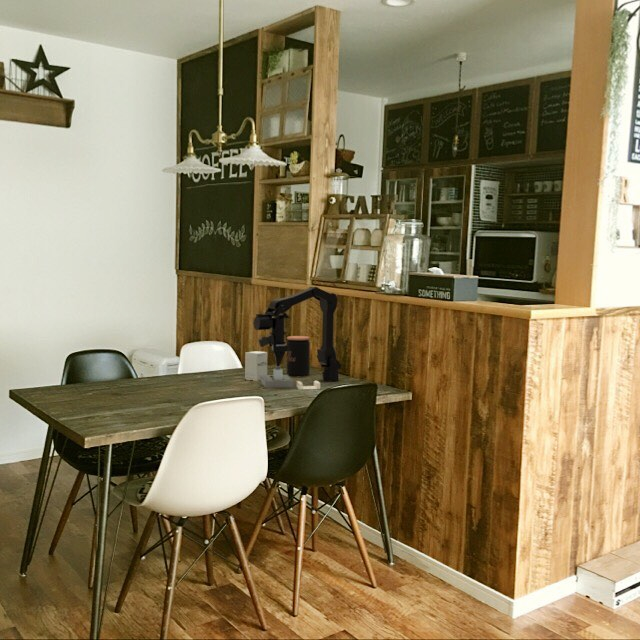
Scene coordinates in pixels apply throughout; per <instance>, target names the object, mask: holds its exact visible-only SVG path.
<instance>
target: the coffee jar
mask: <svg viewBox="0 0 640 640" xmlns="http://www.w3.org/2000/svg"><path fill="white" fill-rule="evenodd" d="M310 338H311V337H310V336H306V335H304V336H303V335H291V336H286V339H287V342H286V345H287V346H288V351H286V373H287V375H291V376H290V377H297V376H301V377H307V376H308V375H309V374H310V367H311V365H310V362H311V361H310V359H311V357H310V353H311V352H310V351H311V350H310V349H311V347H310V346H311V345H310V344H311V343H310Z"/></svg>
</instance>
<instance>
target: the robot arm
mask: <svg viewBox="0 0 640 640" xmlns="http://www.w3.org/2000/svg"><path fill="white" fill-rule="evenodd" d="M311 298H313V299H315V301H316V300H317V301H318V302H319V307H320V310H321V312H322V325H321V326H322V330H321V331H322V332H321V333H322V334H321V335H322V336H321V338H322V339H321V347H320V348H318V349H317V352H316V353H317V355H316V359H317V362H318V363H319V364H320V366H321V368H323V370H322V372H321V373H322V375H321V381H322V382H329V383H331V382H332V383H333V382H335V383H336V382H339V370H341V368H342V363H341V362H340V361H339V360H338V358H337V352H336V349H335V347H334V319H335V318H334V315H335V313H336V309H337V307H338V301H339V299H338V298H339V297H338V296H337V294H335V293H333V292H328V291H326V290H323V289H320V288H319V287H317V286H309V287H308V288H306V289H303V290H301V291H298V292H297V293H295V294H291V295H289V296H286V297H279V298H274V299H272V300H271V301H269V302H270V303H269V306H268V308H267V309H266V311H265V312H264V313H256V314H255V317H254V319H253V327H254V330H255V331H268V330H270V332H269V334H268V335H264V336H261V338H260V337H259V338H258V339H257V341H258V344H259V347H260V348H264V347H266V346H267V347H268V348H270V351H272V353H273V355H274V359H275V364H276V365H275V366H280V365H281V363H282V360H283V358H284V356H285V354H286V353H287V351H288V346H287V342H286V339H285V338H286V337H285V336H286V335H287V334H286V319H290V316H289V315H288V314H287V312H288V311H289V310H291V308H292V307H294V306H296V305H298V304H299V303H302V302H305V301H306V300H309V299H311Z"/></svg>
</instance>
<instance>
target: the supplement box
mask: <svg viewBox="0 0 640 640" xmlns="http://www.w3.org/2000/svg"><path fill="white" fill-rule="evenodd" d="M244 354H245V356H244V358H245V360H244V364H245V365H244V380H245V379H246V381H250V380H253V382H258V381H259V380H260V381H261V375H268V352H267V351H259V350H258V351H257V350H255V351H247V352H244ZM260 381H259V382H260Z"/></svg>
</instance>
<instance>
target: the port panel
mask: <svg viewBox="0 0 640 640" xmlns="http://www.w3.org/2000/svg"><path fill="white" fill-rule="evenodd" d="M260 383H261V384H262V386H263V387H264V388H267V389H268V388H271V389H273V388H276V389H277V388H294V380H293V379H292V376H289V375H288V374H283V380H273V374H267V375H261V380H260Z"/></svg>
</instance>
